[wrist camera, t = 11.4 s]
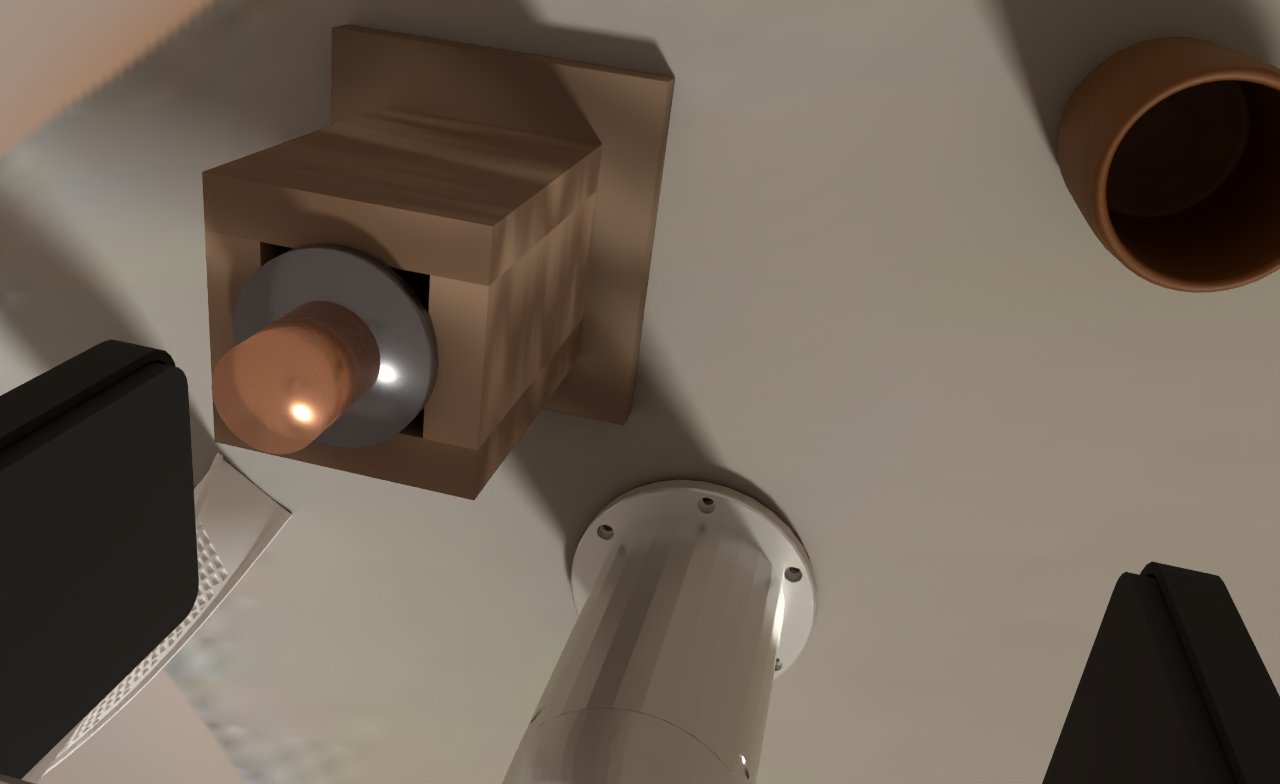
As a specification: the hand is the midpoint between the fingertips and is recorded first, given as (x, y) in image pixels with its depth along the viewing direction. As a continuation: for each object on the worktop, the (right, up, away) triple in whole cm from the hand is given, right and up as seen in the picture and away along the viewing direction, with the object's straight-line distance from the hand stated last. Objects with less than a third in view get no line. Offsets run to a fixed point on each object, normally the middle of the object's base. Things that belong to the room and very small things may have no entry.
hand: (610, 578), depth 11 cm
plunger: (-7, +9, +38) cm, 40 cm away
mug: (+23, +11, +33) cm, 41 cm away
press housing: (-6, +10, +40) cm, 42 cm away
